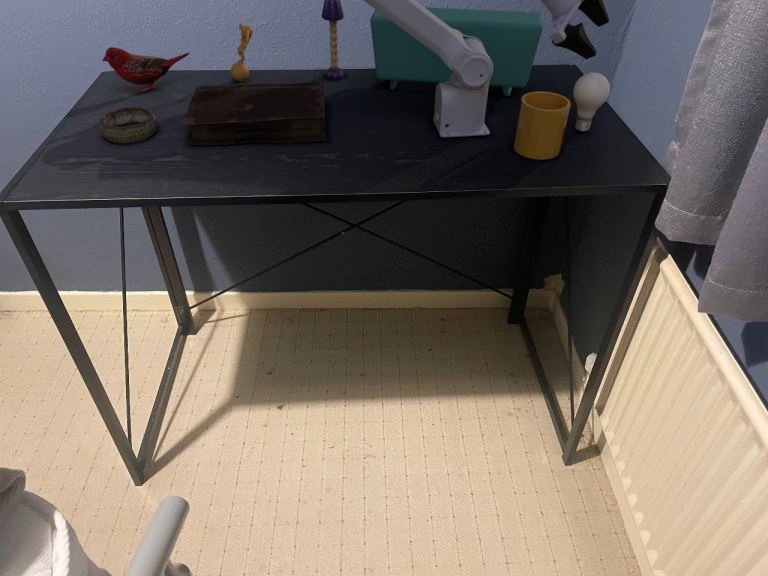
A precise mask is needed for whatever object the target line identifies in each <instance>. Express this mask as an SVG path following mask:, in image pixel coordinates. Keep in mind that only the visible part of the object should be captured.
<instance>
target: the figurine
mask: <svg viewBox="0 0 768 576" xmlns="http://www.w3.org/2000/svg"><path fill="white" fill-rule="evenodd" d="M238 29H239V31H240V36H241V38H240V42H241V43H240V44H239V46H238V47H237V55H238V56H239V57H240V60H237V62H234V63H233V64H232V65H231V67H230V75H231V77H232V79H233V80H235V82H241V83H242V82H245V81H246V80H247V79H249V76H250V70H249V67H248V66H247V65H246V64H245V60H246V57H245V51H246V49H247V46H248V45H249V43H250V40H251V39H252V36H253V33H254V29H253V27H251V26H250V25H245V24H244V23H239V24H238Z"/></svg>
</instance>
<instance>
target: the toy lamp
mask: <svg viewBox="0 0 768 576" xmlns="http://www.w3.org/2000/svg"><path fill="white" fill-rule="evenodd" d="M344 17H345V14H344V10H343V7H342V3H341V0H324V1H323V6H322V11H321V18H322V19H323V20H324V21H328V24H329V32H330V33H329V39H330V40H329V47H330V49H329V52H330V57H329V59H330V67H329V68H328V69H327V70H326V72H325V78H326V79H328V80H333V81H334V80H335V81H336V80H342V79H343V78H345V73H344V70H343V69H342V68H340V67H339V63H338V61H339V56H338V54H339V49H338V45H339V42H338V37H339V35H338V21H341V20H343V19H344Z"/></svg>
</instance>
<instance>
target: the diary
mask: <svg viewBox="0 0 768 576" xmlns="http://www.w3.org/2000/svg"><path fill="white" fill-rule="evenodd" d="M324 90H325V89H324V81H312V82H311V81H310V82H298V83H296V82H295V83H250V84H235V85H196V87H195V89H194V92H193V94H192V97H191V98H190V101H189V104H188V107H187V109H186V112H185V115H184V119H183V121H182V126H183V127H187V128H190V131H191V132H190V133H191V134H190V136H189V138H188V140H187V141H186V143H187V144H190V145H194V146H195V145H196V146H197V145H198V146H200V145H201V146H203V145H204V146H206V145H207V146H210V145H211V146H212V145H213V146H217V145H219V146H221V145H222V146H224V145H225V146H226V145H236V144H250V143H267V144H269V143H271V144H299V143H311V142H312V143H313V142H323V141H325V142H327V127H326V125H327V124H326V110H325V109H326V108H325V107H326V106H325V91H324Z"/></svg>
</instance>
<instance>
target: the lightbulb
mask: <svg viewBox="0 0 768 576" xmlns="http://www.w3.org/2000/svg"><path fill="white" fill-rule="evenodd" d="M610 93H611V85H610V82H609V80H608V79H607V77H606V76H605V75H604V74H602V73H599V72H596V71H595V72H593V71H591V72H587V73H585V74H583V75H582V76H580V77H579V78H578V79H577V80H576V82H575V84H574V86H573V90H572V96H573V99H574V102H575V105H576V114H577V116H576V121H575V126H574V128H575V129H576V130H577V131H578V132H581V133H584V132H587V131H589V130H591V129H590V128H591V125H592V121H593V118H594V116H595V115H596V112H598V110H599V108H601V106H602V105H604V104H605V103H606V102H607V100H608V98H609V95H610Z"/></svg>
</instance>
